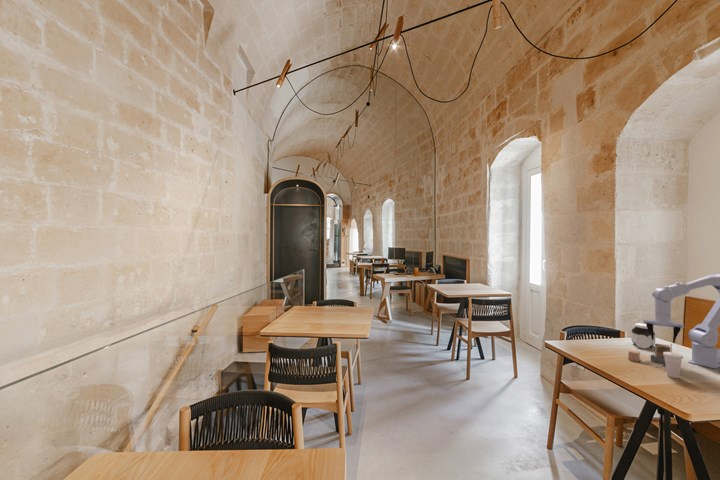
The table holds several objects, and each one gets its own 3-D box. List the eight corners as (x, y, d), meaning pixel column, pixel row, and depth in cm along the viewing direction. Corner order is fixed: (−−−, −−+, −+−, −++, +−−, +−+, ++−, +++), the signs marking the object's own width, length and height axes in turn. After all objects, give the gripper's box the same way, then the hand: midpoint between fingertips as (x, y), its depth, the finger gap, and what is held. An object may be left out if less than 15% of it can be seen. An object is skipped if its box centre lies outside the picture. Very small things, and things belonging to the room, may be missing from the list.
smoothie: (662, 372, 152) (662, 341, 152) (682, 375, 148) (682, 343, 148) (663, 376, 147) (663, 344, 147) (683, 380, 143) (683, 347, 143)
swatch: (663, 364, 161) (663, 364, 161) (657, 367, 158) (657, 366, 158) (646, 360, 167) (646, 359, 167) (639, 363, 163) (639, 362, 163)
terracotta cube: (639, 359, 168) (639, 351, 168) (638, 361, 165) (638, 353, 165) (629, 357, 171) (629, 349, 171) (628, 359, 168) (628, 351, 168)
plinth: (675, 364, 162) (675, 357, 162) (668, 367, 159) (668, 359, 159) (657, 359, 169) (657, 352, 169) (650, 362, 165) (650, 355, 165)
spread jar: (647, 343, 194) (647, 323, 194) (663, 350, 182) (663, 328, 182) (625, 343, 195) (625, 322, 195) (639, 349, 184) (639, 327, 184)
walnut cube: (668, 355, 165) (668, 345, 165) (670, 358, 161) (670, 347, 161) (655, 353, 168) (655, 343, 168) (656, 356, 163) (656, 346, 163)
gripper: (683, 313, 164) (683, 341, 164) (644, 309, 174) (644, 336, 174) (683, 316, 159) (683, 345, 159) (643, 312, 169) (643, 339, 169)
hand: (663, 340), depth 166 cm, fingers open, 7 cm apart
